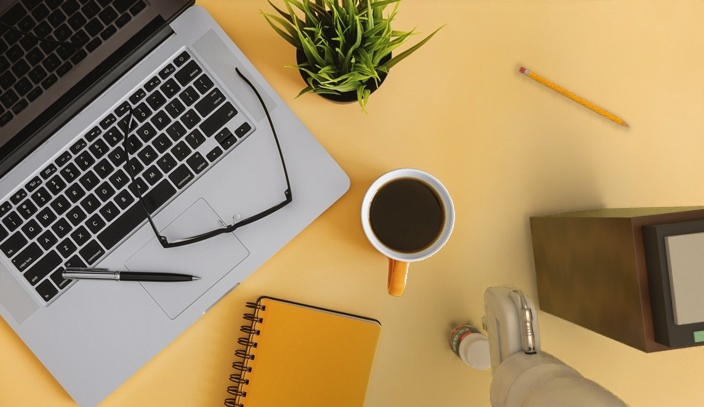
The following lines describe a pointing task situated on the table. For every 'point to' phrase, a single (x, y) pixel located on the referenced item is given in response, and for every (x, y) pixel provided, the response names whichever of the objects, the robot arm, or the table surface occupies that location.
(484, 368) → the pill bottle
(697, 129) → the table surface
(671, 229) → the scale
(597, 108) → the pencil
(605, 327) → the riser
